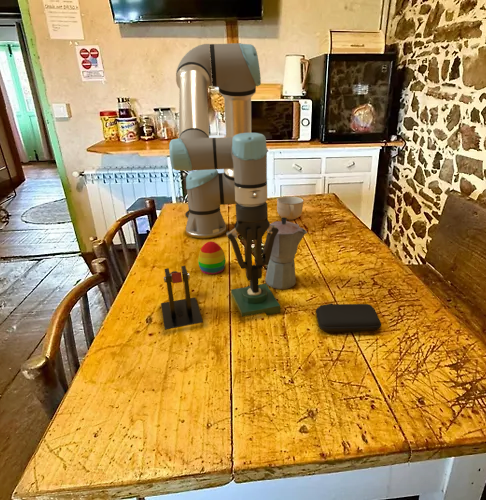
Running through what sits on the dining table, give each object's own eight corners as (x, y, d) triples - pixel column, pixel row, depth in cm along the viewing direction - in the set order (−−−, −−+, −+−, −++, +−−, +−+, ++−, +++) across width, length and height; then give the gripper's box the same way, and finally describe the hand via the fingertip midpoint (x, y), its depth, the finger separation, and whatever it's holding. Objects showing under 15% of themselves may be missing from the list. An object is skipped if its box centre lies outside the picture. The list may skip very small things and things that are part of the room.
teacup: (278, 212, 170) (278, 194, 167) (303, 213, 169) (304, 195, 166) (274, 224, 158) (274, 205, 154) (301, 225, 156) (302, 205, 153)
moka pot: (303, 293, 109) (305, 225, 101) (249, 288, 112) (246, 221, 104) (307, 276, 118) (309, 213, 109) (257, 272, 120) (255, 210, 112)
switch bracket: (161, 306, 104) (154, 263, 98) (195, 300, 106) (191, 257, 101) (165, 333, 93) (158, 286, 88) (203, 325, 96) (198, 279, 90)
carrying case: (371, 309, 101) (314, 310, 101) (372, 298, 100) (314, 299, 100) (382, 334, 92) (319, 335, 92) (384, 323, 90) (319, 324, 90)
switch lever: (169, 283, 106) (167, 272, 106) (181, 281, 107) (179, 270, 107) (171, 285, 93) (169, 272, 93) (184, 283, 94) (182, 270, 94)
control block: (231, 296, 108) (230, 283, 106) (266, 290, 111) (265, 277, 109) (242, 320, 98) (241, 306, 96) (280, 312, 100) (280, 299, 99)
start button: (246, 294, 104) (245, 288, 103) (259, 291, 105) (259, 285, 104) (249, 300, 101) (249, 295, 100) (263, 298, 102) (263, 292, 101)
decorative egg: (231, 272, 121) (229, 242, 116) (208, 281, 116) (205, 250, 112) (217, 263, 126) (215, 234, 122) (194, 271, 122) (191, 241, 118)
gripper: (227, 210, 87) (233, 301, 97) (283, 203, 91) (283, 292, 101) (220, 200, 94) (226, 287, 104) (272, 195, 98) (273, 279, 107)
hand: (254, 289), depth 102 cm, fingers closed
